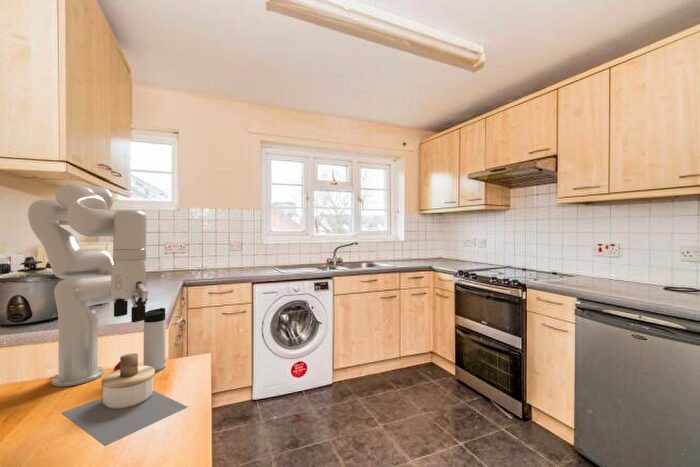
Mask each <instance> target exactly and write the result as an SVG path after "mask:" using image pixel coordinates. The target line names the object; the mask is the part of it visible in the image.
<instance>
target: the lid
mask: <svg viewBox="0 0 700 467" xmlns="http://www.w3.org/2000/svg"><path fill="white" fill-rule="evenodd" d="M119 358H120V359H119V360H120V361H119V362H120V369H119V370H116V371H110V372H109V373H107V374H105V375H104V376H103V377H101V387H105V388H125V387H130V386H134V385H138V384H141V383H143V382H145V381H148V380H149V379H151V378H152V377H153V378H154V376H155V374H156V372H155V369H154V368H153V367H151V366H144V365H139V354H138V353H126V354H123V355H121V356H120V357H119Z"/></svg>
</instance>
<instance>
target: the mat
mask: <svg viewBox="0 0 700 467" xmlns="http://www.w3.org/2000/svg"><path fill="white" fill-rule="evenodd" d="M186 408H187V409H188V406H186V405H184V404H183V403H181V402H178V401H177V400H174V399H172V398H170V397H168V396H166V395H164V394H162V393H160V392H157V391H156V390H154V389H153V392H152V395H151V396H150V397H149V398H148V399H147V400H145V401H144V402H142V403H140V404H137V405H134V406H131V407H126V408H119V409H113V408H108V407H107V406H106V405H105V404H103V397H100V398H98V399H96V400H93V401H90V402H87V403H84V404H82V405H78V406H75V407H73V408H70V409H67V410H65V411H62V412H61V414H62V415H63V416H65V417H66V418H67V419H69V420H70V421H72V422H73V423H74V424H75V425H77V426H78V427H79V428H80V429H82V430H83V431H85V432H86V433H87V434H89V435H90V436H91V437H92V438H93V439H95V440H96V441H98V443H101V444H102V446H104V447H106V446H108V445H111V444H112V443H115V442H117V441H119V440H121V439H123V438H125V437H127V436H129V435H130V436H131V435H132V434H134V433H135V432H138V431H140V430H142V429H144V428H147V427H149V426H151V425H153V424H155V423H157V422H159V421H161V420H163V419H165V418H168V417H169V416H172V415H174V414H176V413H178V412H181V411H182V410H185V409H186Z"/></svg>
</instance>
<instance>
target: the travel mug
mask: <svg viewBox="0 0 700 467" xmlns="http://www.w3.org/2000/svg"><path fill="white" fill-rule="evenodd" d="M166 330H167V328H166V307H164V308H163V307H160V308H156V309H150V310H147V311H145V320H144V321H143V366H151V367H153V368H154V369H155V373H156V372H160V371H163V370H164V369H165V368H166Z"/></svg>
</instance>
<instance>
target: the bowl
mask: <svg viewBox="0 0 700 467" xmlns="http://www.w3.org/2000/svg"><path fill="white" fill-rule="evenodd" d="M102 387H103V386H102ZM153 390H154V376H153V377H152V378H151V379H149V380H148V381H145V382H143V383H141V384H138V385H134V386H130V387H125V388H105V387H103V388H102V398H103V404H105V405H106V406H107V407H108V408H113V409H119V408H126V407H131V406H134V405H137V404H140V403H142V402H144V401H145V400H147V399H148V398H149V397H150V396H151V395H152V392H153Z"/></svg>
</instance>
